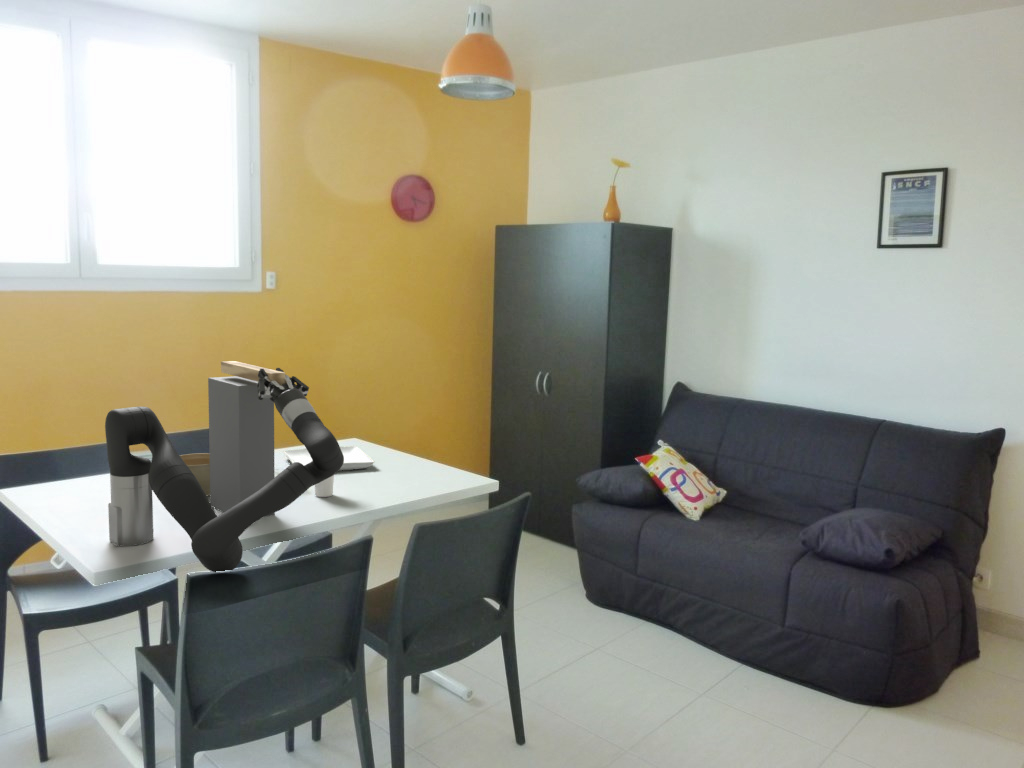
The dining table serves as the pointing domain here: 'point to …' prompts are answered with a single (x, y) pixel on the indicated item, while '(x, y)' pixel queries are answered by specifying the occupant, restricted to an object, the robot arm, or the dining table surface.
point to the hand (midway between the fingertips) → (269, 371)
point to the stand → (238, 441)
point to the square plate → (351, 454)
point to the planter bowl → (199, 468)
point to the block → (250, 371)
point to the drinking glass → (325, 487)
